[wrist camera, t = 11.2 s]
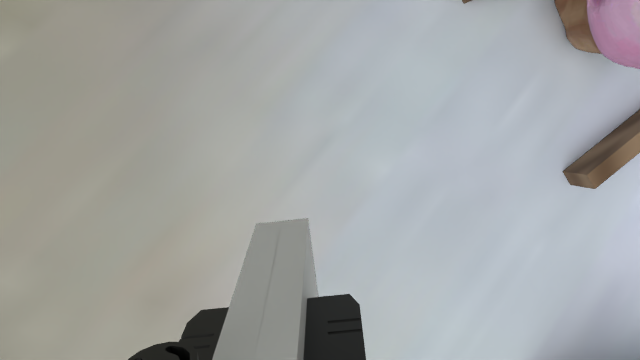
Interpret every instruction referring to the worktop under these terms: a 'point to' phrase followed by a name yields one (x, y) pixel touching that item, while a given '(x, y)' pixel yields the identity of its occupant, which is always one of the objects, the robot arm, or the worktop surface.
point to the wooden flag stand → (605, 154)
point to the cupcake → (604, 28)
